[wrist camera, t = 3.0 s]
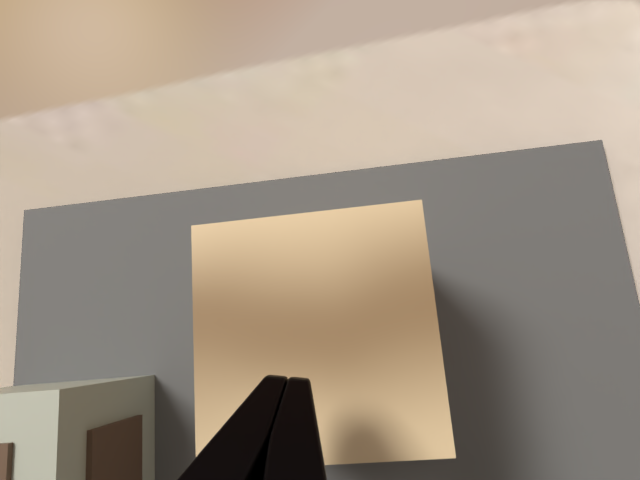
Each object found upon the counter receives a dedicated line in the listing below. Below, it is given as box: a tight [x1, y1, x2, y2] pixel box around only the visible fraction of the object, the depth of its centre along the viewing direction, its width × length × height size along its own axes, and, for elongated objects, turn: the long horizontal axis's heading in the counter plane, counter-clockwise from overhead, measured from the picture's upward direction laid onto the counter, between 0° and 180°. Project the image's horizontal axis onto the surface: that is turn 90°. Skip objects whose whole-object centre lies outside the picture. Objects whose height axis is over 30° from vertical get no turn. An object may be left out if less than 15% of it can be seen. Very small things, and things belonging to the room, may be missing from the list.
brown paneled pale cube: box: [0, 375, 155, 480], centre depth 16 cm, size 6×6×6 cm
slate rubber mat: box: [13, 140, 640, 480], centre depth 18 cm, size 24×26×1 cm
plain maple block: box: [191, 200, 456, 465], centre depth 15 cm, size 6×6×8 cm
